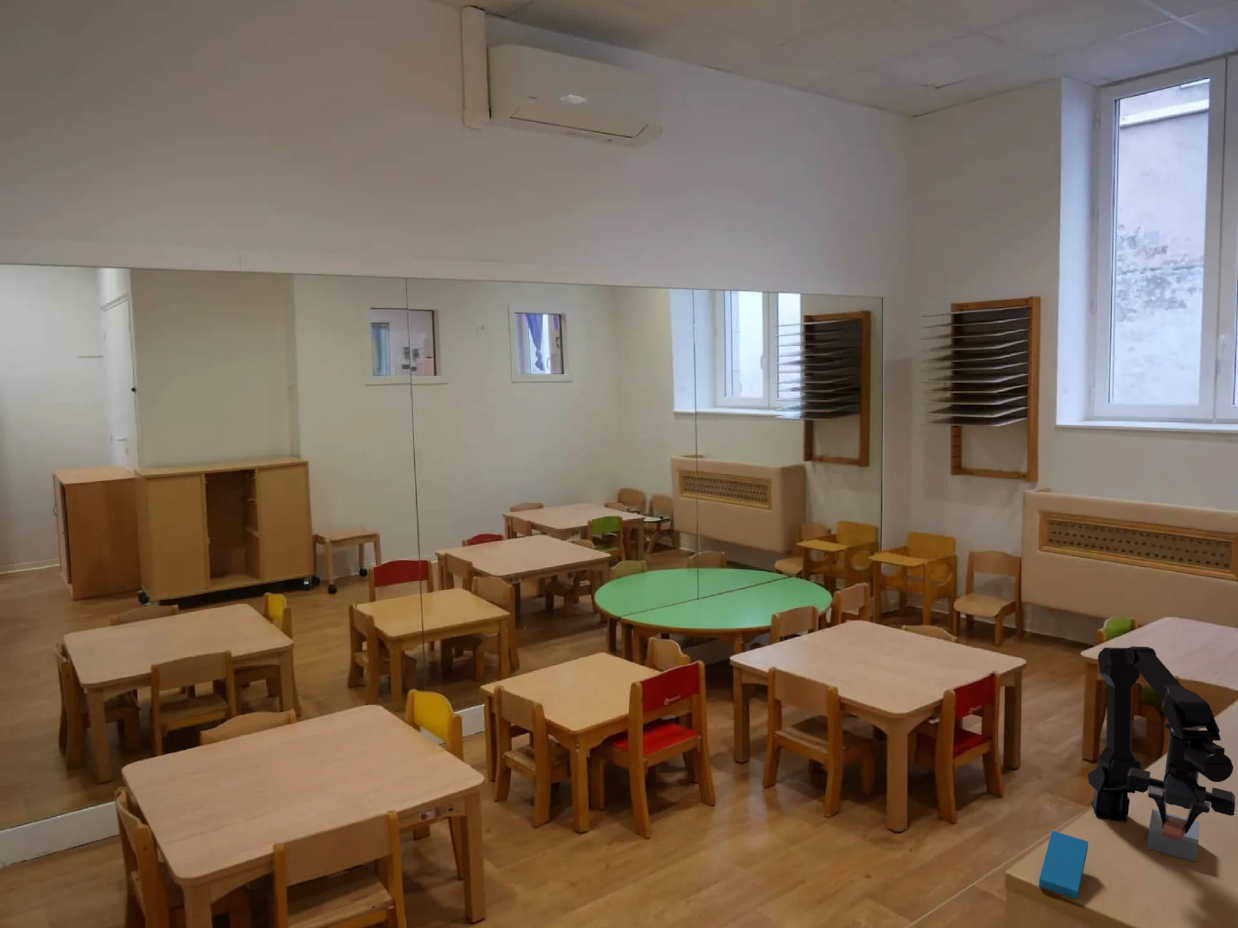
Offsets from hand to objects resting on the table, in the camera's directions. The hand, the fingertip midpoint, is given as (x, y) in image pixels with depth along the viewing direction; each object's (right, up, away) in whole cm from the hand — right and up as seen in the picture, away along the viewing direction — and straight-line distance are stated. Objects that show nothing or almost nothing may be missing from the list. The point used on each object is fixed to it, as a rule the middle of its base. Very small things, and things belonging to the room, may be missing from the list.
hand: (1175, 829), depth 183 cm
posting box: (+6, -8, +11) cm, 15 cm away
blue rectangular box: (-23, -10, +1) cm, 25 cm away
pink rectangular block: (0, -1, 0) cm, 1 cm away
